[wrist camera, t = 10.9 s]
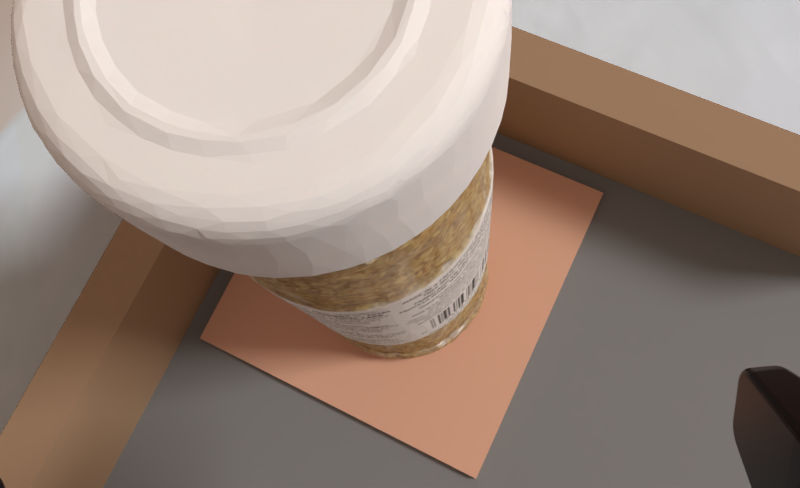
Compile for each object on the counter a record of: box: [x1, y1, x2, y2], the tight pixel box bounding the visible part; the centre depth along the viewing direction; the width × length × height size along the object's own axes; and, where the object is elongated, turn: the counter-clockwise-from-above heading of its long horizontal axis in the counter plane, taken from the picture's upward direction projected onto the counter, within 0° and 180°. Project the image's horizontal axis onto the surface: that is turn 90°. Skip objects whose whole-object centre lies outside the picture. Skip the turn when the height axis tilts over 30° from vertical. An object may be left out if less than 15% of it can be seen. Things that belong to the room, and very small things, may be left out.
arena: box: [0, 27, 800, 488], centre depth 17 cm, size 18×16×4 cm
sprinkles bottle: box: [11, 0, 512, 359], centre depth 13 cm, size 5×5×14 cm
